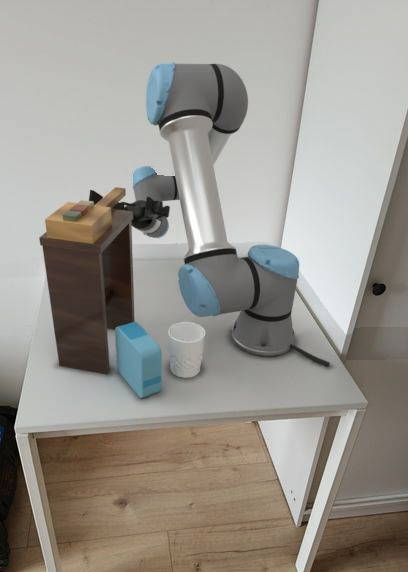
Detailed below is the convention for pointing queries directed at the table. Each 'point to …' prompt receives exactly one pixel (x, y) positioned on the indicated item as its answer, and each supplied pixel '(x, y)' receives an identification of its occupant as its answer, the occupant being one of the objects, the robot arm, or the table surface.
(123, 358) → the data package
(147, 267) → the table surface
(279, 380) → the table surface
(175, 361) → the white cup
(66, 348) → the dark wooden cabinet
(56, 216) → the wooden box with handle
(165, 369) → the table surface
